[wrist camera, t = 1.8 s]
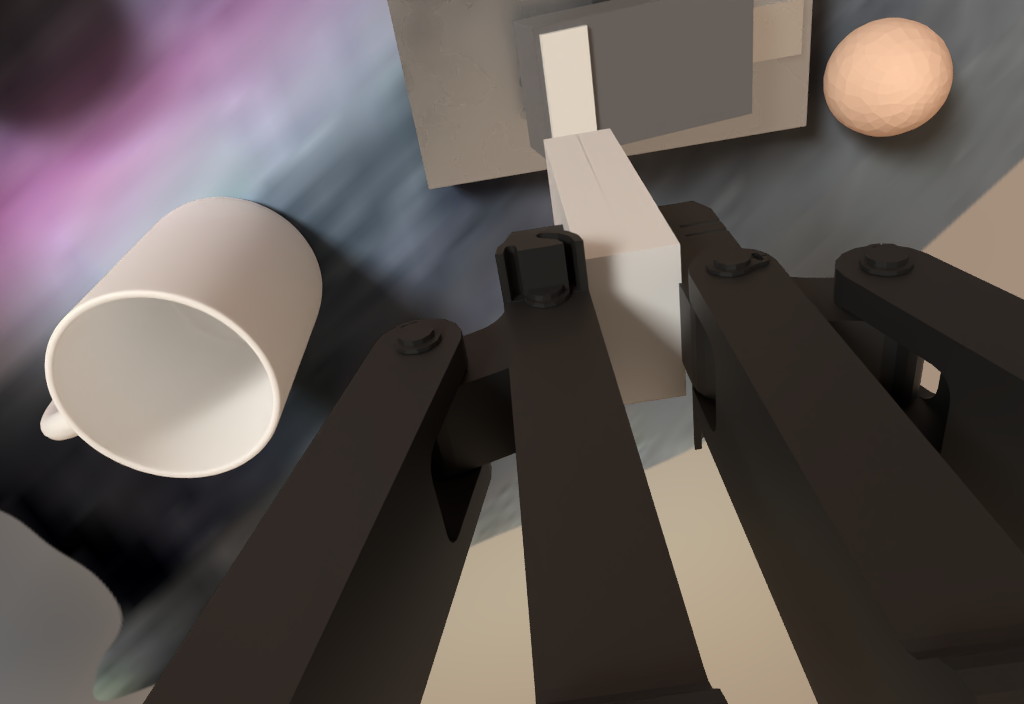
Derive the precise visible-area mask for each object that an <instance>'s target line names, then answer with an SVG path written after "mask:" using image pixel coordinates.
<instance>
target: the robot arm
mask: <svg viewBox="0 0 1024 704" xmlns="http://www.w3.org/2000/svg"><path fill="white" fill-rule="evenodd" d="M543 141H544V149H545V156H546V164H547V171H548V179H549V186H550V194H551V201H552V209H553V216H554V224H555V225H554V226H548V227H542V228H536V229H530V230H524V231H518V232H512V233H511V234H510V235H509V237H508V238H507V239H506V240H505V242H504V243H503V244H502V245H500V246H499V247H498V248H497V251H496V253H495V257H496V263H497V268H498V274H499V280H500V285H501V291H502V296H503V302H504V311H505V312H504V313H503V315H502V316H501V317H500V318H499V319H498V320H497V321H496V322H494V323H493V324H491V325H489V326H488V327H486V328H484V329H481V330H479V331H476V332H474V333H471V334H468V335H465V336H463V335H462V331H461V329H460V328H459V327H458V326H457V324H455V323H453V322H450V321H448V320H445V319H431V318H430V319H422V320H420V319H415V320H411V321H409V322H408V323H407V322H405V323H402V324H400V325H398V326H397V327H395V328H393V329H392V330H390V331H388V332H386V333H385V334H384V335H383V336H382V337H381V338H380V339H379V340H378V341H377V342H376V343H375V344H374V346H373V348H372V349H371V351H370V352H369V354H368V355H367V357H366V358H365V360H364V362H363V363H362V365H361V366H360V368H359V369H358V371H357V372H356V374H355V376H354V377H353V379H352V380H351V382H350V383H349V385H348V386H347V388H346V389H345V391H344V393H343V394H342V396H341V397H340V399H339V400H338V402H337V403H336V405H335V407H334V408H333V410H332V411H331V413H330V414H329V416H328V417H327V419H326V421H325V422H324V424H323V425H322V427H321V428H320V430H319V431H318V433H317V434H316V436H315V438H314V439H313V441H312V442H311V444H310V445H309V447H308V448H307V450H306V452H305V453H304V455H303V456H302V458H301V459H300V461H299V462H298V464H297V465H296V467H295V469H294V470H293V472H292V473H291V475H290V476H289V478H288V479H287V481H286V483H285V484H284V486H283V487H282V489H281V490H280V492H279V493H278V495H277V497H276V498H275V500H274V501H273V503H272V504H271V506H270V507H269V509H268V510H267V512H266V514H265V515H264V517H263V518H262V520H261V521H260V523H259V524H258V526H257V528H256V529H255V531H254V532H253V534H252V535H251V537H250V538H249V540H248V542H247V543H246V545H245V546H244V548H243V549H242V551H241V552H240V554H239V555H238V557H237V559H236V560H235V562H234V563H233V565H232V566H231V568H230V569H229V571H228V573H227V574H226V576H225V577H224V579H223V580H222V582H221V583H220V585H219V586H218V588H217V590H216V591H215V593H214V594H213V596H212V597H211V599H210V600H209V602H208V604H207V605H206V607H205V608H204V610H203V611H202V613H201V614H200V616H199V618H198V619H197V621H196V622H195V624H194V625H193V627H192V628H191V630H190V631H189V633H188V635H187V636H186V638H185V639H184V641H183V642H182V644H181V645H180V647H179V649H178V650H177V652H176V653H175V655H174V656H173V658H172V659H171V661H170V663H169V664H168V666H167V667H166V669H165V670H164V672H163V673H162V675H161V676H160V678H159V680H158V681H157V683H156V684H155V686H154V687H153V689H152V691H151V692H150V694H149V695H148V697H147V698H146V700H145V701H144V703H143V704H420V703H421V700H422V696H423V693H424V690H425V687H426V684H427V680H428V677H429V674H430V671H431V668H432V665H433V662H434V658H435V655H436V652H437V649H438V646H439V642H440V639H441V636H442V633H443V629H444V627H445V623H446V620H447V617H448V614H449V610H450V607H451V604H452V601H453V598H454V595H455V591H456V588H457V585H458V582H459V579H460V576H461V572H462V569H463V566H464V563H465V559H466V556H467V553H468V550H469V547H470V544H471V541H472V537H473V534H474V531H475V528H476V525H477V521H478V518H479V515H480V512H481V509H482V505H483V502H484V499H485V496H486V493H487V490H488V486H489V483H490V480H491V468H492V467H491V463H490V462H493V461H495V460H498V459H500V458H503V457H506V456H508V455H511V454H513V453H516V460H517V472H518V484H519V497H520V509H521V522H522V534H523V546H524V559H525V571H526V583H527V596H528V607H529V620H530V633H531V645H532V657H533V670H534V682H535V695H536V704H728V703H727V701H726V699H725V697H724V695H723V694H722V692H721V690H720V689H713V688H712V687H711V685H710V683H709V681H708V678H707V675H706V672H705V670H704V667H703V663H702V660H701V657H700V653H699V650H698V647H697V644H696V640H695V637H694V634H693V630H692V627H691V624H690V621H689V617H688V614H687V611H686V607H685V604H684V601H683V598H682V594H681V591H680V588H679V584H678V581H677V578H676V575H675V571H674V568H673V565H672V561H671V558H670V555H669V552H668V548H667V545H666V542H665V538H664V535H663V532H662V529H661V526H660V522H659V519H658V516H657V512H656V509H655V506H654V502H653V499H652V496H651V492H650V489H649V486H648V483H647V479H646V476H645V473H644V469H643V466H642V463H641V459H640V456H639V453H638V450H637V446H636V443H635V440H634V436H633V433H632V430H631V427H630V423H629V420H628V417H627V413H626V410H625V407H624V405H626V404H633V403H639V402H646V401H653V400H659V399H666V398H672V397H679V396H686V379H685V369H686V371H687V374H688V376H689V378H690V380H691V382H692V392H693V421H694V444H695V450H697V449H701V448H702V438H703V437H704V438H705V440H706V442H707V445H708V447H709V449H710V452H711V454H712V456H713V459H714V461H715V463H716V466H717V468H718V470H719V473H720V475H721V477H722V480H723V482H724V484H725V487H726V489H727V492H728V494H729V496H730V499H731V501H732V503H733V505H734V508H735V510H736V513H737V515H738V517H739V520H740V522H741V524H742V527H743V529H744V531H745V534H746V536H747V538H748V541H749V543H750V545H751V548H752V550H753V552H754V555H755V557H756V559H757V562H758V564H759V567H760V569H761V571H762V574H763V576H764V578H765V580H766V583H767V585H768V588H769V590H770V592H771V595H772V597H773V599H774V602H775V604H776V606H777V609H778V611H779V613H780V616H781V618H782V620H783V623H784V625H785V627H786V630H787V632H788V634H789V637H790V639H791V641H792V644H793V646H794V649H795V651H796V653H797V655H798V658H799V660H800V662H801V665H802V667H803V670H804V672H805V674H806V677H807V679H808V681H809V684H810V686H811V688H812V691H813V693H814V695H815V698H816V700H817V702H818V704H1024V300H1023V299H1021V298H1019V297H1017V296H1015V295H1013V294H1010V293H1008V292H1007V291H1004V290H1002V289H1000V288H998V287H996V286H994V285H992V284H990V283H987V282H985V281H983V280H981V279H979V278H977V277H975V276H973V275H971V274H968V273H966V272H964V271H962V270H960V269H958V268H956V267H954V266H952V265H950V264H948V263H946V262H943V261H941V260H939V259H937V258H935V257H933V256H931V255H929V254H927V253H924V252H921V251H918V250H915V249H912V248H908V247H901V246H896V245H895V244H882V245H880V244H871V245H868V246H866V247H860V248H855V249H852V250H850V251H848V252H845V253H843V254H842V255H841V256H840V257H839V258H838V259H837V260H836V264H835V277H834V278H798V277H790V276H789V275H788V273H787V272H786V271H785V270H784V269H783V267H782V266H781V265H780V264H779V263H778V262H777V260H776V259H774V258H773V257H771V256H770V255H769V254H767V253H764V252H761V251H757V250H754V249H743V248H741V247H740V245H739V244H738V243H737V241H736V240H735V239H734V238H733V236H732V235H731V234H730V232H729V231H727V230H726V227H725V226H724V225H723V223H722V222H720V221H719V218H718V217H717V216H716V214H715V213H714V212H713V211H712V209H711V208H708V207H706V206H704V205H701V204H699V203H697V202H694V201H689V202H683V203H677V204H671V205H665V206H658V207H657V205H656V204H655V202H654V200H653V199H652V197H651V195H650V194H649V192H648V190H647V189H646V187H645V185H644V184H643V182H642V180H641V179H640V177H639V176H638V174H637V172H636V171H635V169H634V167H633V166H632V164H631V162H630V161H629V159H628V157H627V156H626V154H625V152H624V151H623V149H622V147H621V146H620V144H619V142H618V141H617V139H616V138H615V136H614V134H613V133H612V131H611V129H610V128H609V129H603V130H597V131H591V132H585V133H579V134H573V135H567V136H561V137H555V138H549V139H543ZM924 360H926V361H927V362H929V363H931V364H932V365H933V366H934V367H936V368H937V369H938V370H939V371H940V372H941V375H940V380H939V386H938V390H937V392H936V394H934V393H932V392H930V391H928V390H927V389H925V388H924V387H922V386H921V385H920V382H921V376H922V369H923V363H924Z"/></svg>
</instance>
